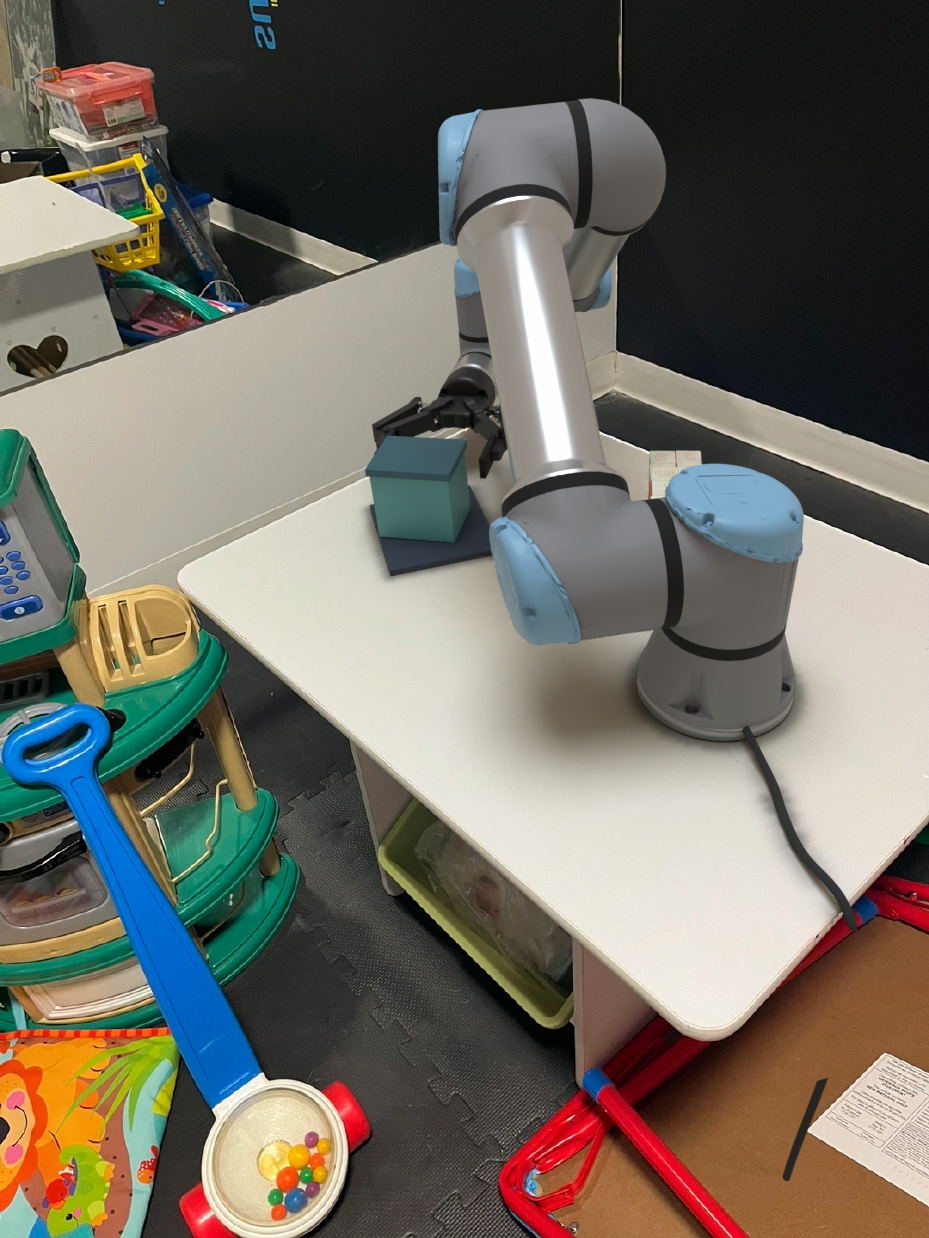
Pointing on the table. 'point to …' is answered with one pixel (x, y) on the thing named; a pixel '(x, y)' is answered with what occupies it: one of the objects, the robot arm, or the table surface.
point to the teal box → (420, 488)
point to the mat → (438, 544)
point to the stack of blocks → (668, 468)
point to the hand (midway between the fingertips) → (429, 466)
